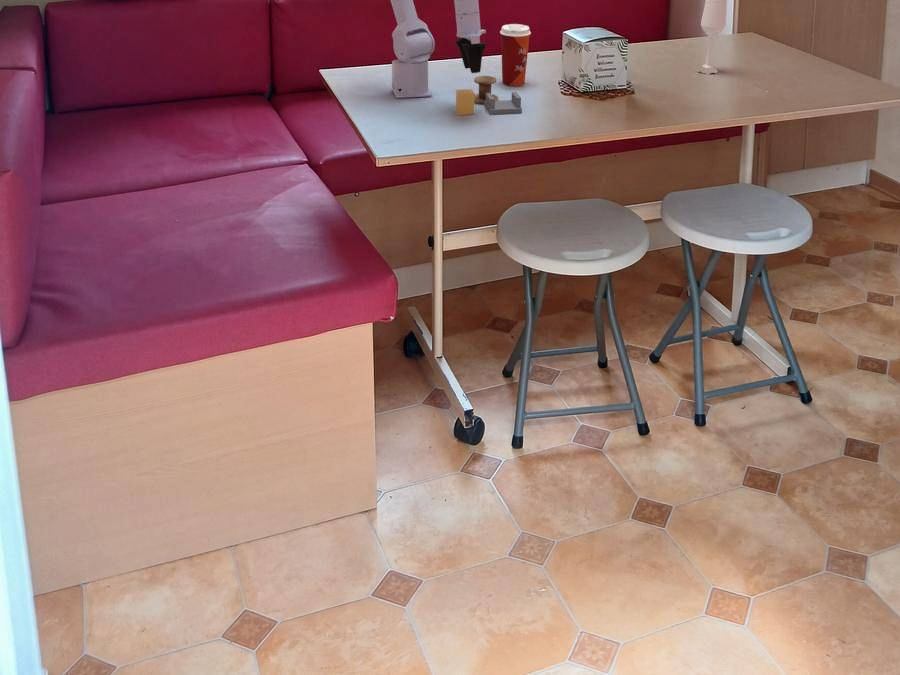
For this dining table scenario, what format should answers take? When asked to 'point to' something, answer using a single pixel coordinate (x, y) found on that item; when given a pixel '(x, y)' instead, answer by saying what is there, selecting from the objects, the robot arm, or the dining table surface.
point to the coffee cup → (514, 53)
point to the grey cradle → (503, 105)
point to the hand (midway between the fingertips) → (472, 70)
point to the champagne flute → (713, 22)
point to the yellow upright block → (465, 102)
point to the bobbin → (484, 88)
